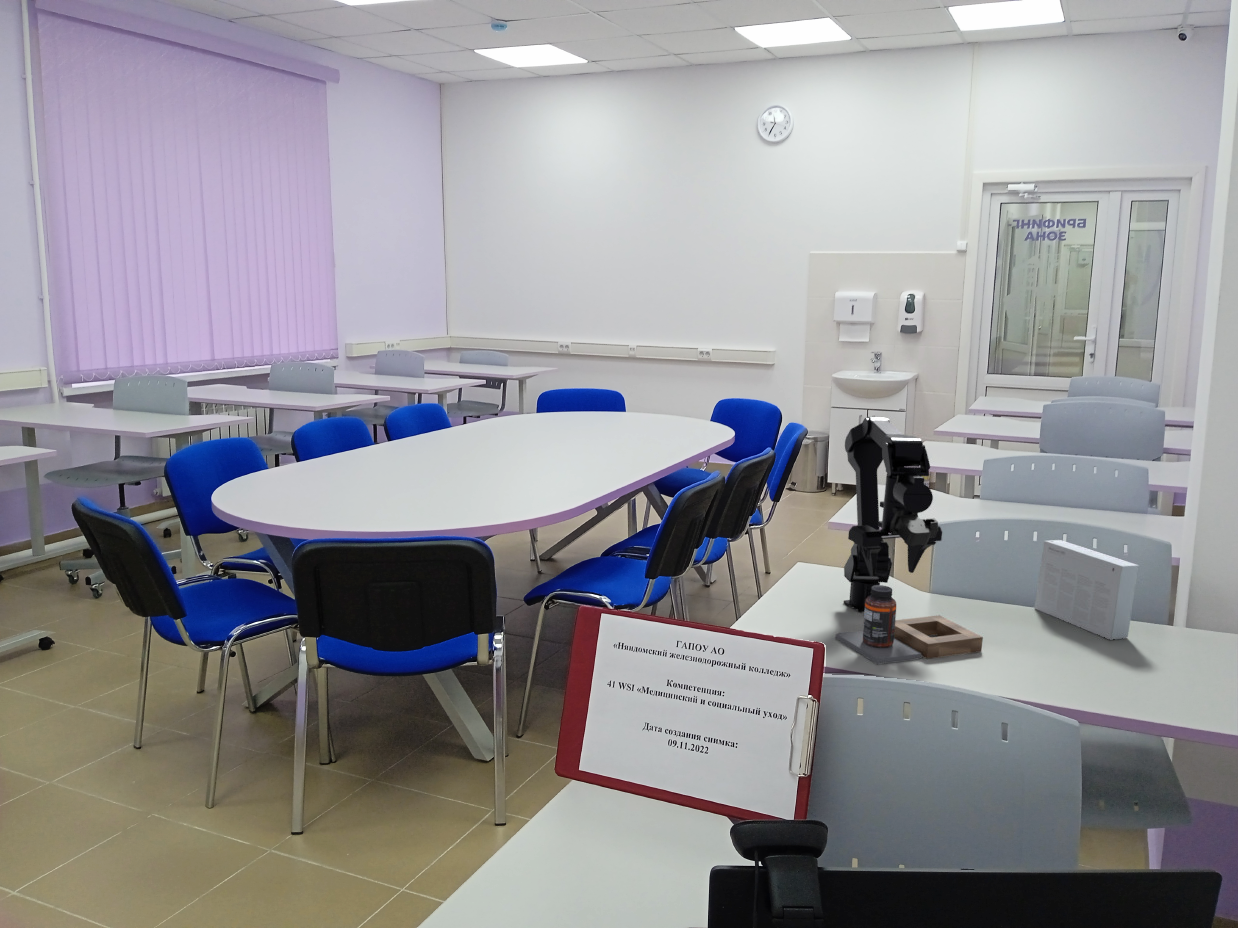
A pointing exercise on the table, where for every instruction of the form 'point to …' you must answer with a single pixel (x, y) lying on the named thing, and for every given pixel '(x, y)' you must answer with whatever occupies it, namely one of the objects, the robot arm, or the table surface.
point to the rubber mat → (878, 649)
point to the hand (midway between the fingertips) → (891, 574)
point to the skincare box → (1086, 588)
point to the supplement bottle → (879, 617)
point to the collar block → (948, 642)
